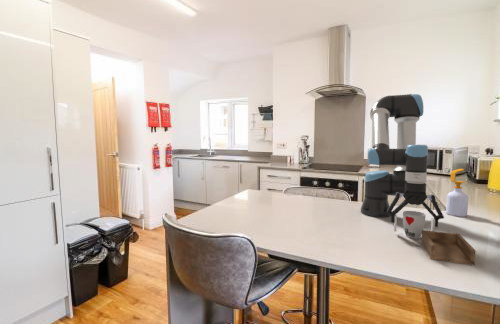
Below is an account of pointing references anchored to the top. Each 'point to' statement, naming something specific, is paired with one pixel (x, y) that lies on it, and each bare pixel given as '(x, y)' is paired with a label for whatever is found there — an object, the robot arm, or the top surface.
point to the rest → (448, 247)
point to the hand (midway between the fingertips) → (413, 232)
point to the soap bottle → (457, 198)
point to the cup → (413, 223)
